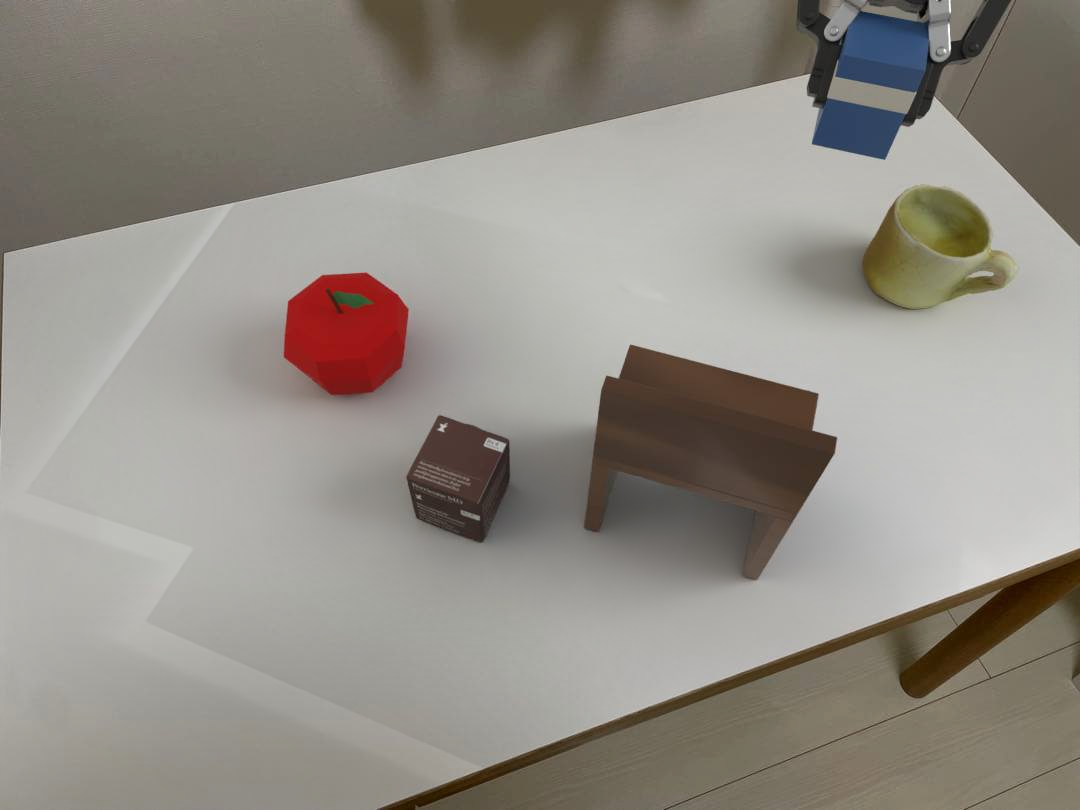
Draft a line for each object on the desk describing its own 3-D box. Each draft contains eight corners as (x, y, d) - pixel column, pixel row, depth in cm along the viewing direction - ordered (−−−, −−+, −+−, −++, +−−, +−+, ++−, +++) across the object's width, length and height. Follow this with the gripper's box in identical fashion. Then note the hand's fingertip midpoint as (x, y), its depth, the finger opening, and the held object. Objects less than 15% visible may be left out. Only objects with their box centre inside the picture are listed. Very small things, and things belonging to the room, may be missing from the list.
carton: (820, 99, 61) (851, 8, 55) (892, 114, 60) (932, 23, 54) (810, 144, 58) (842, 54, 52) (885, 161, 57) (926, 71, 51)
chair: (616, 427, 73) (641, 271, 56) (778, 472, 71) (855, 323, 54) (583, 528, 68) (600, 390, 51) (757, 581, 65) (835, 453, 49)
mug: (825, 262, 81) (896, 185, 73) (874, 236, 87) (946, 163, 79) (916, 357, 78) (1001, 287, 70) (961, 324, 84) (1043, 256, 76)
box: (414, 519, 68) (402, 476, 62) (445, 458, 71) (437, 412, 65) (483, 545, 67) (478, 504, 61) (512, 482, 70) (510, 437, 64)
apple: (275, 394, 74) (243, 323, 66) (328, 305, 80) (304, 229, 71) (387, 426, 73) (368, 357, 64) (432, 332, 78) (421, 258, 70)
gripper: (838, -218, 49) (756, 83, 53) (1097, -180, 47) (991, 131, 51) (824, -159, 57) (752, 102, 61) (1048, -124, 54) (958, 145, 58)
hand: (862, 114), depth 56 cm, fingers closed on carton, 5 cm apart
